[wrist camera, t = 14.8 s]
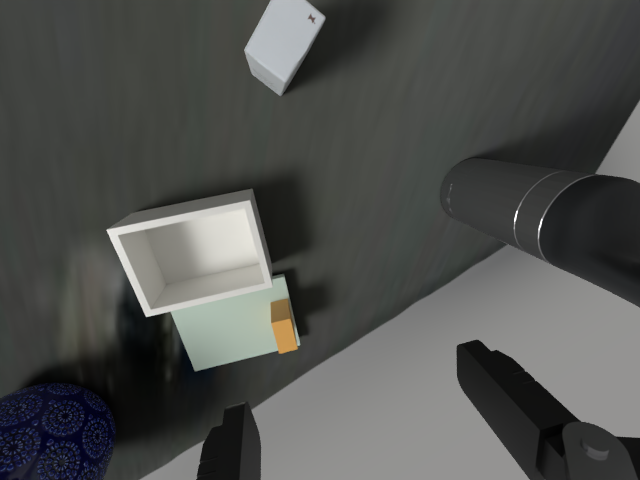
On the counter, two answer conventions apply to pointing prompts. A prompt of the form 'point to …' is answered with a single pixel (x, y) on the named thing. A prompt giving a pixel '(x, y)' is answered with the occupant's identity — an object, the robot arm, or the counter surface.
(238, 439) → the robot arm
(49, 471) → the planter
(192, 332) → the lid
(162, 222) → the tub
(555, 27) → the counter surface
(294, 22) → the skincare box
